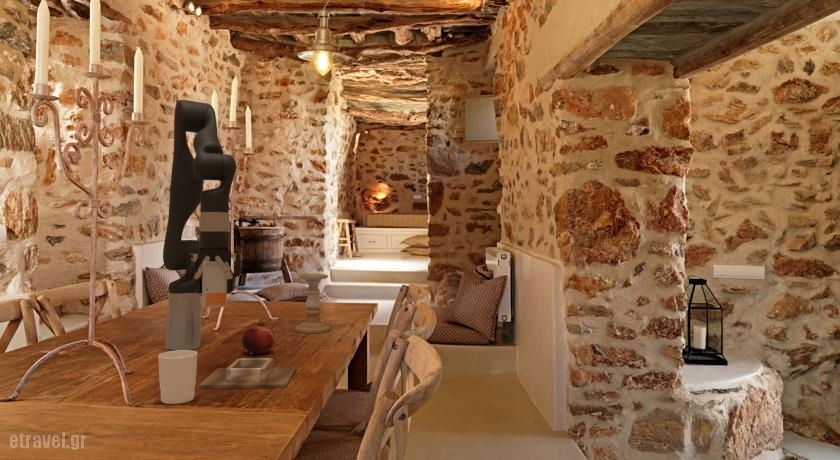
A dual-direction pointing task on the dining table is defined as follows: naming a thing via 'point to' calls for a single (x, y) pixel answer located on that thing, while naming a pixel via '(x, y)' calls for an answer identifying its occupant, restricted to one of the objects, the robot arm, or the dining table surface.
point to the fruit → (258, 339)
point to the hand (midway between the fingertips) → (214, 293)
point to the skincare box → (214, 285)
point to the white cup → (177, 376)
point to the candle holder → (313, 306)
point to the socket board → (249, 375)
